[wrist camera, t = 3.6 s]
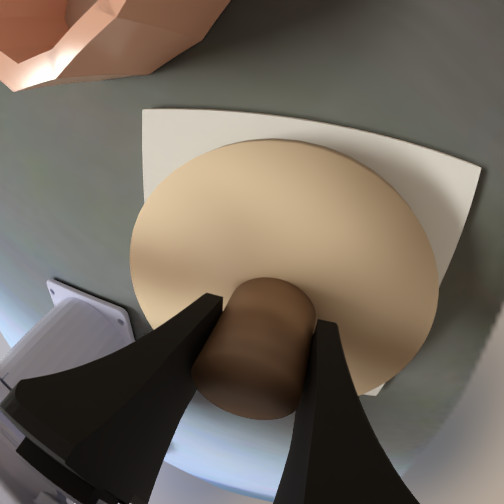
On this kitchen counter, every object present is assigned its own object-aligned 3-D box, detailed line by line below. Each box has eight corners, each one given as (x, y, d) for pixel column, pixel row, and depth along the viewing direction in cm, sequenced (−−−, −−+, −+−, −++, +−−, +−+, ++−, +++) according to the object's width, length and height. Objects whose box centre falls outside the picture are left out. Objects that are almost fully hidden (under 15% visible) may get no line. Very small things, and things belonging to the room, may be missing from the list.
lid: (370, 408, 13) (364, 480, 10) (157, 355, 16) (119, 413, 12) (478, 186, 7) (551, 249, 4) (131, 127, 9) (37, 155, 6)
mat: (376, 388, 15) (375, 396, 14) (166, 336, 17) (161, 342, 17) (474, 164, 8) (481, 167, 8) (150, 108, 11) (142, 109, 10)
